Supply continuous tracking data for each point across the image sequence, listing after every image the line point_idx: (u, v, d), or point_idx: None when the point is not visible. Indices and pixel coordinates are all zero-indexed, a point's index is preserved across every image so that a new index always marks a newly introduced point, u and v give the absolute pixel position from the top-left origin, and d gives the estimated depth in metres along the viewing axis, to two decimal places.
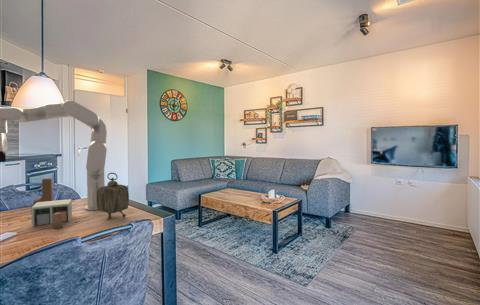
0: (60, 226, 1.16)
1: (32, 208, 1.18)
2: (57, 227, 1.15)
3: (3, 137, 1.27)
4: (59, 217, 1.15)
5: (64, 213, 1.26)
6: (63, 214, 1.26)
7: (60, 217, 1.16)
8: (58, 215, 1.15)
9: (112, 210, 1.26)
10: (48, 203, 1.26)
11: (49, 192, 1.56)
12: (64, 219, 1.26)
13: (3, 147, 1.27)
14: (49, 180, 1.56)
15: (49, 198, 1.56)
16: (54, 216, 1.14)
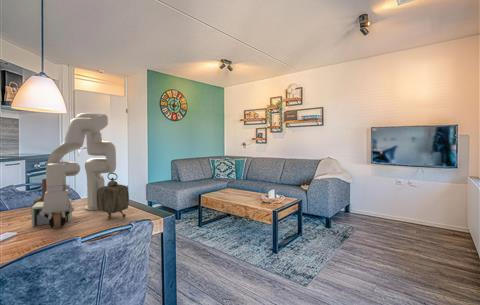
0: (60, 226, 1.16)
1: (32, 208, 1.18)
2: (57, 227, 1.15)
3: None
4: (59, 217, 1.15)
5: None
6: None
7: (60, 217, 1.16)
8: (58, 215, 1.15)
9: (112, 210, 1.26)
10: None
11: None
12: None
13: None
14: None
15: None
16: (54, 216, 1.14)
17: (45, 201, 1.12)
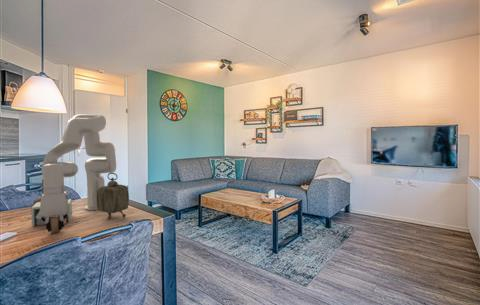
0: (58, 230, 1.10)
1: (32, 208, 1.18)
2: (55, 231, 1.09)
3: None
4: (57, 220, 1.09)
5: None
6: None
7: (58, 220, 1.10)
8: (56, 218, 1.09)
9: (112, 210, 1.26)
10: None
11: None
12: None
13: None
14: None
15: None
16: (51, 219, 1.08)
17: (42, 204, 1.06)
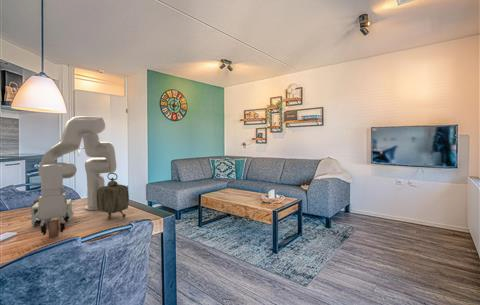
0: (56, 234, 1.06)
1: (32, 208, 1.18)
2: (53, 235, 1.05)
3: None
4: (55, 224, 1.05)
5: None
6: (60, 220, 1.16)
7: (56, 224, 1.06)
8: (54, 222, 1.05)
9: (112, 210, 1.26)
10: None
11: None
12: None
13: None
14: None
15: None
16: (50, 223, 1.04)
17: (39, 206, 1.02)
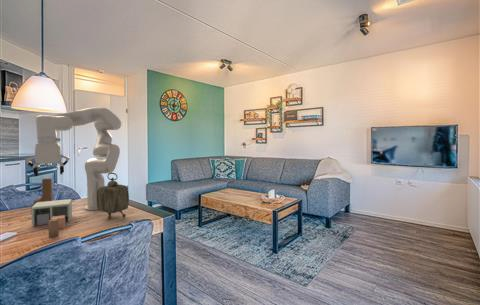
0: (56, 234, 1.06)
1: (32, 208, 1.18)
2: (53, 235, 1.05)
3: None
4: (55, 224, 1.05)
5: (61, 219, 1.16)
6: (60, 220, 1.16)
7: (56, 224, 1.06)
8: (54, 222, 1.05)
9: (112, 210, 1.26)
10: (48, 203, 1.26)
11: (49, 192, 1.56)
12: (61, 226, 1.16)
13: None
14: (49, 180, 1.56)
15: (49, 198, 1.56)
16: (50, 223, 1.04)
17: (36, 152, 1.14)
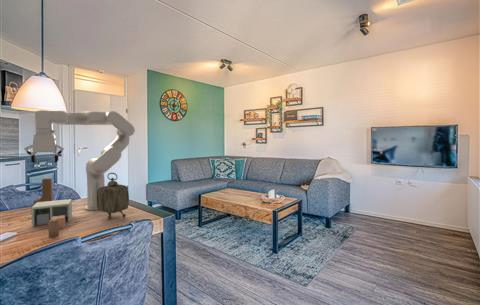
0: (56, 234, 1.06)
1: (32, 208, 1.18)
2: (53, 235, 1.05)
3: None
4: (55, 224, 1.05)
5: (61, 219, 1.16)
6: (60, 220, 1.16)
7: (56, 224, 1.06)
8: (54, 222, 1.05)
9: (112, 210, 1.26)
10: (48, 203, 1.26)
11: (49, 192, 1.56)
12: (61, 226, 1.16)
13: None
14: (49, 180, 1.56)
15: (49, 198, 1.56)
16: (50, 223, 1.04)
17: (34, 141, 1.30)
